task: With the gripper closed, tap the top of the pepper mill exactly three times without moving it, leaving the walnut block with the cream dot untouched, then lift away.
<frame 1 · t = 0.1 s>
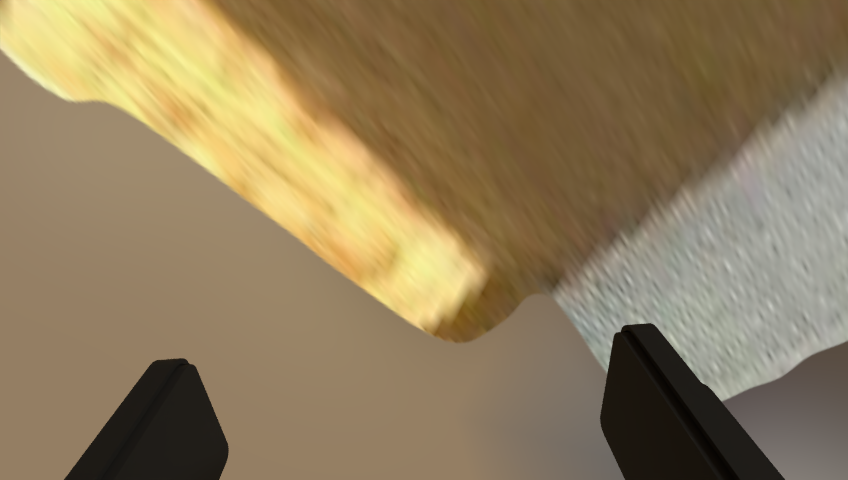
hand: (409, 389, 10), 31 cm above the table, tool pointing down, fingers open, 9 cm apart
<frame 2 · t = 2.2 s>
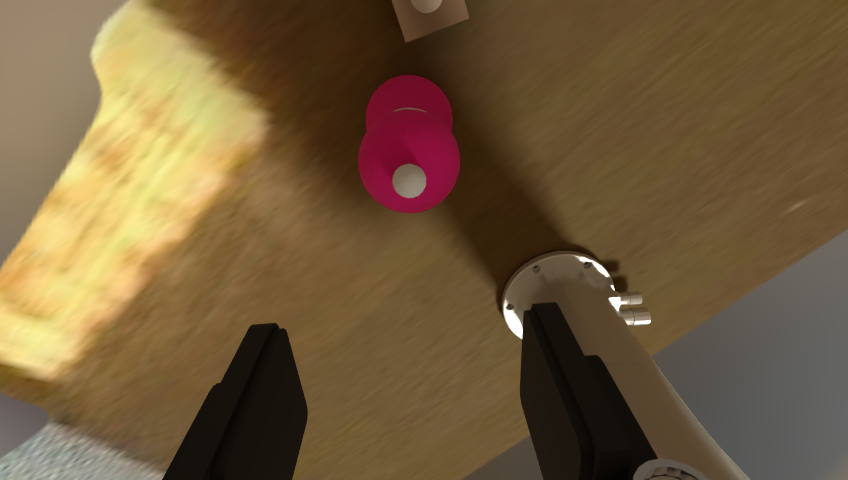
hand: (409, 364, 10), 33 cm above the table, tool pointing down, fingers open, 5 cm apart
pepper mill: (409, 111, 40), on the table
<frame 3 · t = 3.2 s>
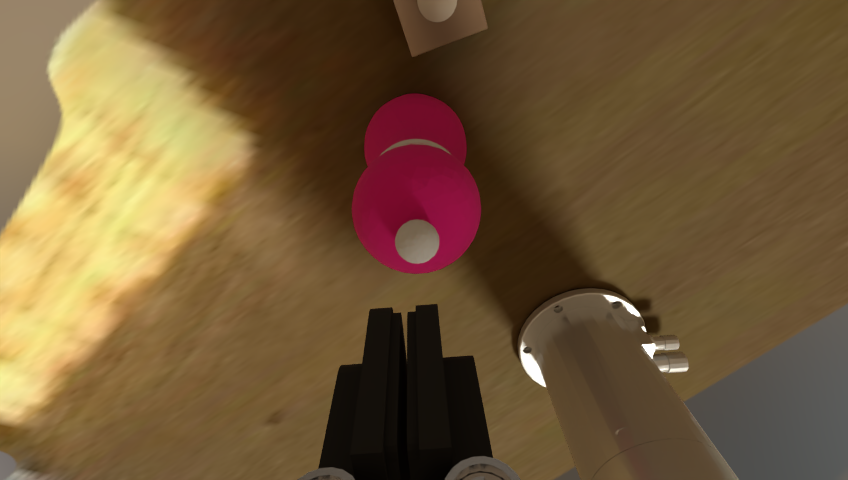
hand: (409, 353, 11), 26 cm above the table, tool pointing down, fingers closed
walnut block: (433, 3, 30), on the table
pepper mill: (415, 133, 34), on the table
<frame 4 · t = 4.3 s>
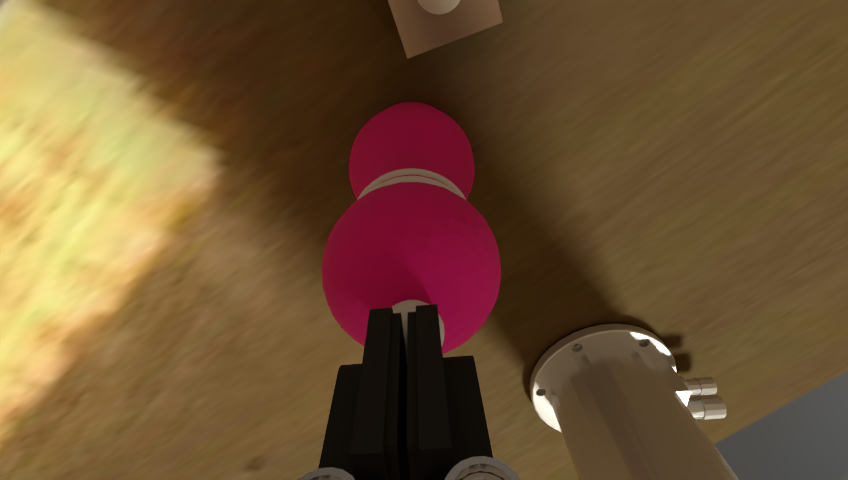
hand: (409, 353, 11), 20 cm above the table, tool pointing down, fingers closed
pepper mill: (412, 148, 29), on the table, touching gripper
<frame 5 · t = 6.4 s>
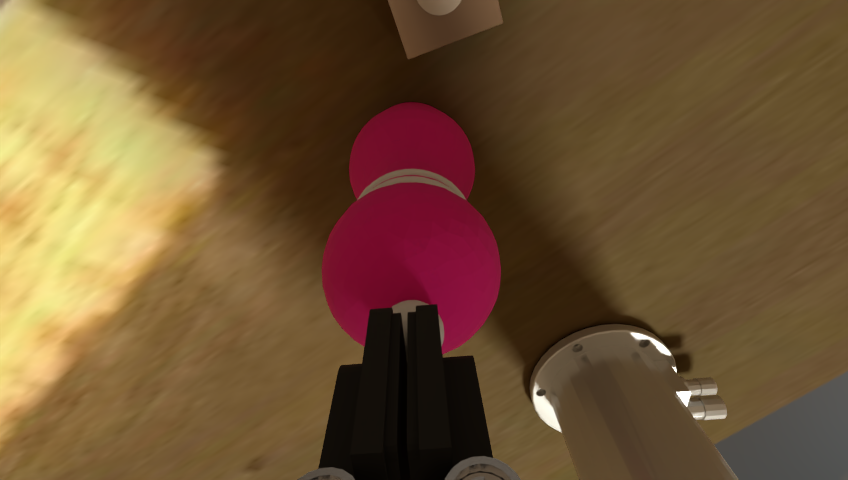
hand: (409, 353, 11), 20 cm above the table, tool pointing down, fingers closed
pepper mill: (412, 148, 29), on the table, touching gripper
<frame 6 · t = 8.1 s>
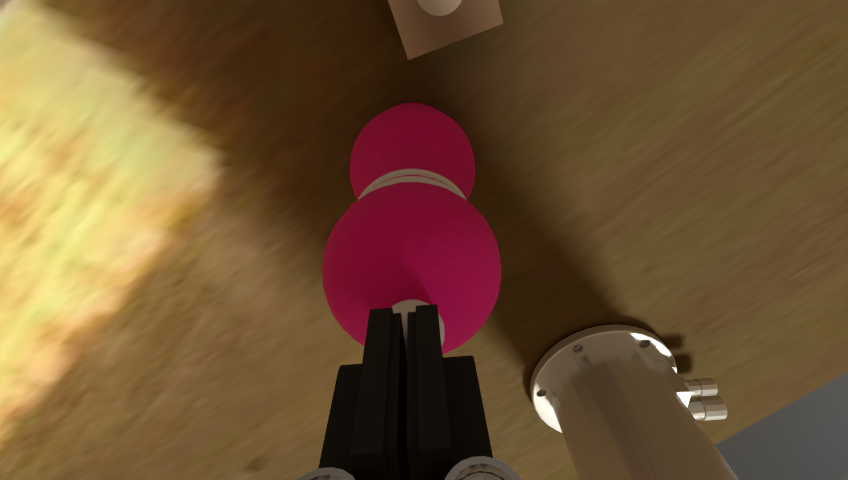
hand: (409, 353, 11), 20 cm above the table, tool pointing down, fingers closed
pepper mill: (412, 149, 29), on the table, touching gripper
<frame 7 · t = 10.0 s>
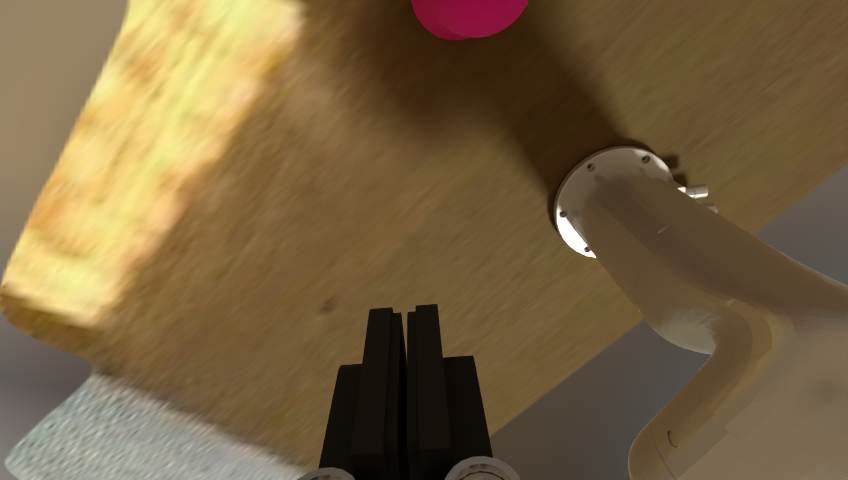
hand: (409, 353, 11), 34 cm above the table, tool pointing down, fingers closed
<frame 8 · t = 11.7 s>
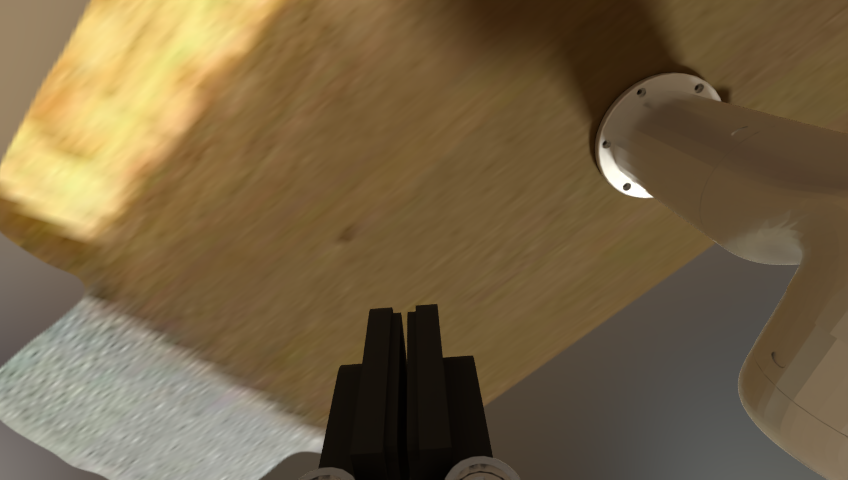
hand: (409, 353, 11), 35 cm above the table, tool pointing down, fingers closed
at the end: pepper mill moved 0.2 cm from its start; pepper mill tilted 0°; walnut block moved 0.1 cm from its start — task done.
